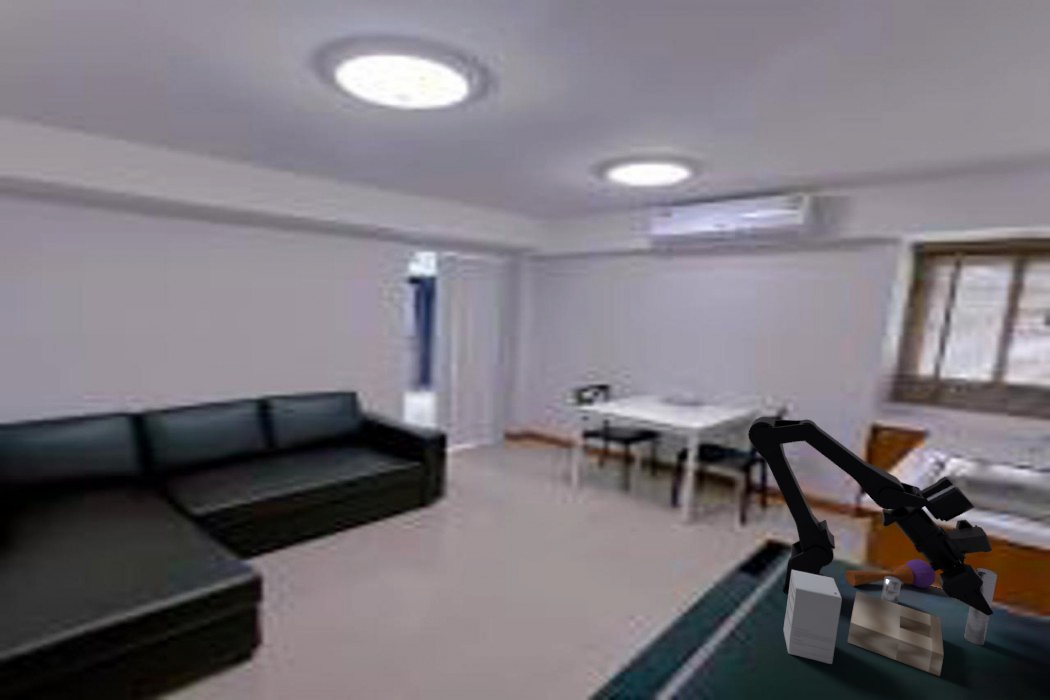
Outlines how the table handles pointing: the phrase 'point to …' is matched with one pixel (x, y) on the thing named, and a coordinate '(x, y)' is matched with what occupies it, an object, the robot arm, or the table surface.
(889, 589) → the short pin
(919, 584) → the kendama
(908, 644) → the hole block
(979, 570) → the long pin
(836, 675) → the table surface
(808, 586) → the supplement box
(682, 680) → the table surface
